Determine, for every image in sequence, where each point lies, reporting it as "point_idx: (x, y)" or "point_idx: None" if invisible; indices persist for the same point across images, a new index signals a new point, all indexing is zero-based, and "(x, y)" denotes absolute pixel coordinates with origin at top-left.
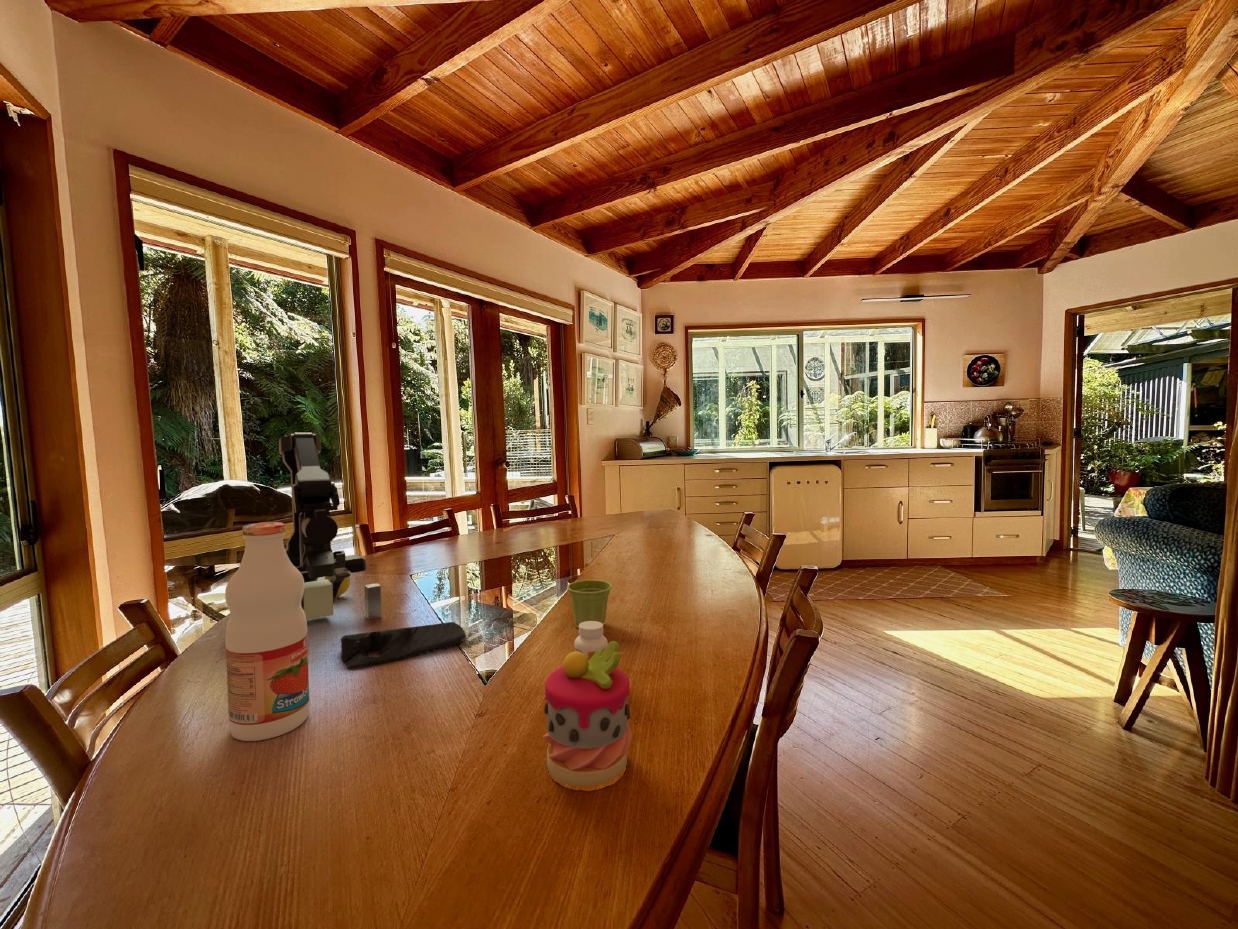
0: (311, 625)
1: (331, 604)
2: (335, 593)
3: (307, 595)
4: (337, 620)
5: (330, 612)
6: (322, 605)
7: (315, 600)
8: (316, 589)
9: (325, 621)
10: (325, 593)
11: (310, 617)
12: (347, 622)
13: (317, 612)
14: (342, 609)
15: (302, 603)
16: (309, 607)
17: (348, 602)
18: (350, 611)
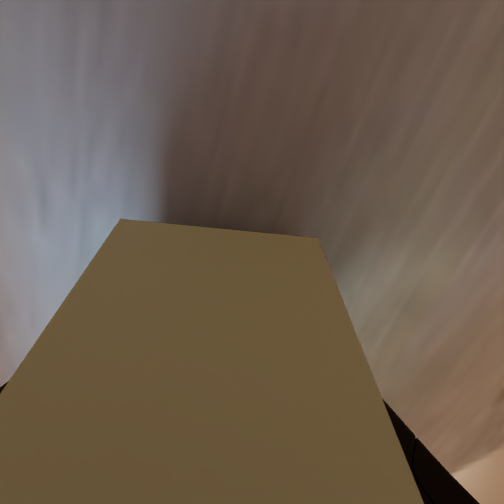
0: (271, 220)
1: (100, 271)
2: None
3: (354, 415)
4: (107, 201)
5: (135, 233)
6: (186, 281)
7: (252, 334)
8: (234, 488)
9: None
10: (115, 389)
11: (286, 241)
12: (40, 98)
13: (235, 253)
14: None
15: None
16: (305, 294)
17: None
18: (16, 309)
